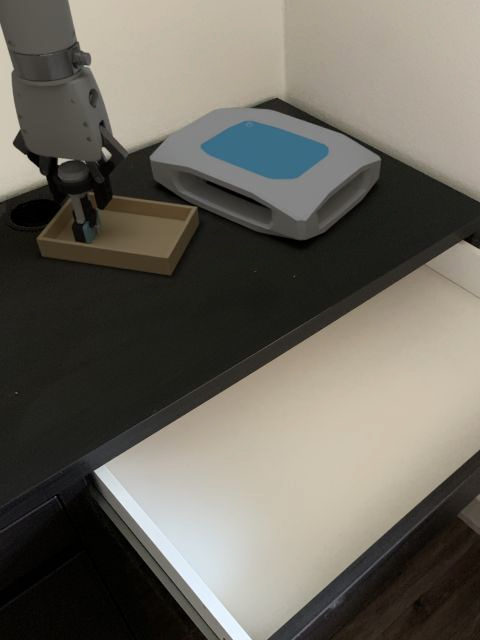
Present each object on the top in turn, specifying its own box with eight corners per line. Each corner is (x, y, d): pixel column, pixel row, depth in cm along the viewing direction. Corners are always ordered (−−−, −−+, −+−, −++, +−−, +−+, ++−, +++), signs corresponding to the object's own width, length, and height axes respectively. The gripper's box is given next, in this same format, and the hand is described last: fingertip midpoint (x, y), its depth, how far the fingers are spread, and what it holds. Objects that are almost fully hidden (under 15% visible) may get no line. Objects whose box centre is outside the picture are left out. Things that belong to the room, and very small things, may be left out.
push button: (81, 216, 94) (62, 150, 87) (117, 219, 94) (102, 152, 86) (64, 243, 90) (44, 176, 82) (102, 246, 89) (85, 179, 82)
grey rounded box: (302, 252, 90) (303, 212, 86) (151, 187, 101) (144, 148, 96) (380, 185, 102) (384, 147, 97) (237, 133, 112) (235, 96, 108)
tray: (41, 256, 89) (35, 238, 87) (80, 207, 97) (75, 190, 95) (170, 275, 87) (168, 258, 85) (199, 223, 95) (197, 206, 92)
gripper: (130, 53, 76) (154, 194, 90) (-6, 39, 78) (37, 179, 92) (104, 81, 71) (134, 225, 85) (-41, 65, 73) (10, 208, 87)
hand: (83, 200), depth 88 cm, fingers closed on push button, 5 cm apart
